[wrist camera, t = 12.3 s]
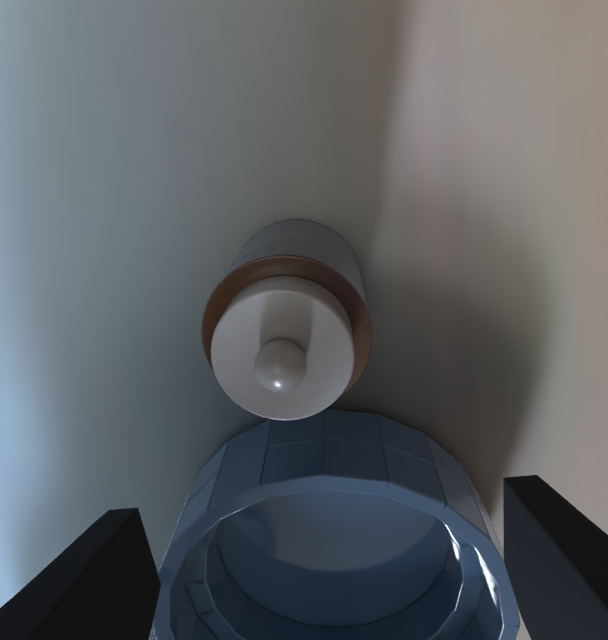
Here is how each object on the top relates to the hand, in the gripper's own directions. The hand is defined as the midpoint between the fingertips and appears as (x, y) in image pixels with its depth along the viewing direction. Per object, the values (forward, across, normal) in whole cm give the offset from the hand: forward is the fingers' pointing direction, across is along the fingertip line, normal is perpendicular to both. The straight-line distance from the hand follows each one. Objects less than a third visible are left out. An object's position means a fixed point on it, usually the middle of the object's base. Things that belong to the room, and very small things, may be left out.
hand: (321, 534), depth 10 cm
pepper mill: (+9, +1, -3) cm, 10 cm away
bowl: (+9, +1, +8) cm, 13 cm away
